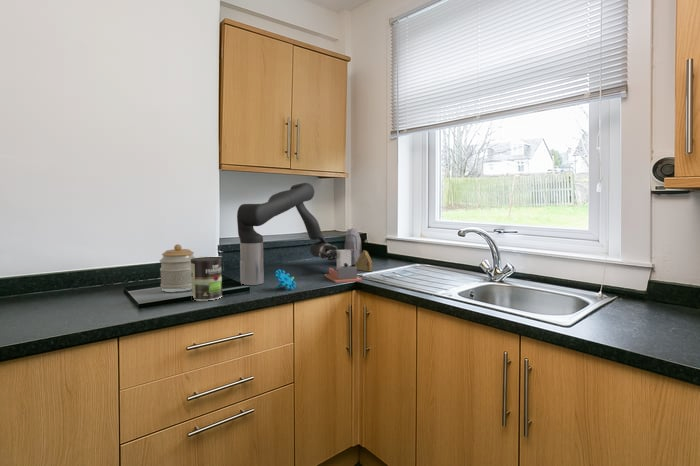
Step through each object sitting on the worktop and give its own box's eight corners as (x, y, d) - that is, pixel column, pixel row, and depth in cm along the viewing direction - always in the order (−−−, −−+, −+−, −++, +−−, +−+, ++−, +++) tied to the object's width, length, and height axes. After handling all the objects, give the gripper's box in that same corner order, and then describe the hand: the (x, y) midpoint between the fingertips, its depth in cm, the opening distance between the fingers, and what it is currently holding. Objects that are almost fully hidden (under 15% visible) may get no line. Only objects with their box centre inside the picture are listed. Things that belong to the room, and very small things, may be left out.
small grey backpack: (349, 262, 216) (349, 227, 214) (363, 262, 214) (363, 227, 213) (343, 266, 201) (343, 228, 200) (358, 267, 200) (359, 229, 198)
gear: (286, 288, 142) (272, 268, 145) (276, 298, 143) (263, 278, 147) (302, 286, 152) (289, 268, 155) (293, 296, 153) (279, 277, 157)
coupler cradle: (336, 283, 160) (336, 269, 159) (324, 276, 175) (324, 263, 174) (362, 280, 164) (362, 267, 164) (348, 274, 179) (348, 262, 179)
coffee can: (228, 296, 136) (227, 257, 135) (204, 303, 128) (203, 261, 127) (210, 293, 142) (209, 255, 141) (185, 299, 133) (184, 259, 132)
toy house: (379, 267, 186) (374, 261, 196) (369, 253, 184) (364, 248, 194) (361, 280, 186) (357, 273, 196) (351, 267, 184) (348, 261, 194)
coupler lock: (340, 278, 165) (340, 251, 164) (336, 276, 169) (336, 250, 169) (351, 278, 166) (351, 250, 165) (347, 275, 171) (347, 249, 170)
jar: (189, 284, 157) (188, 242, 156) (202, 289, 148) (201, 244, 146) (155, 289, 148) (154, 244, 147) (167, 295, 139) (166, 247, 137)
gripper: (315, 245, 185) (324, 248, 170) (342, 243, 190) (354, 247, 175) (315, 260, 186) (324, 265, 171) (342, 258, 191) (354, 263, 176)
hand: (339, 256), depth 173 cm, fingers open, 8 cm apart
